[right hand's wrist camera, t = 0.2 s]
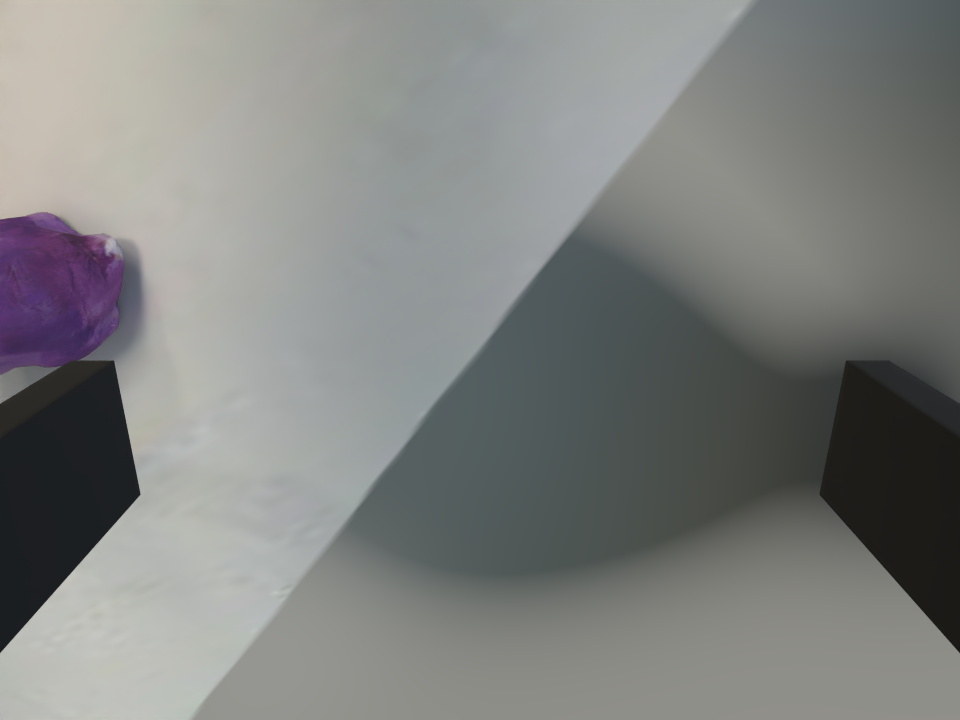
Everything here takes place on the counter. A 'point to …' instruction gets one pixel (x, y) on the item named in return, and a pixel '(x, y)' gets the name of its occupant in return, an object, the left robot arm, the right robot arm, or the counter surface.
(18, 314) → the figurine
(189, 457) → the counter surface
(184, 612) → the counter surface
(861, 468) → the right robot arm
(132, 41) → the counter surface
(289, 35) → the counter surface
